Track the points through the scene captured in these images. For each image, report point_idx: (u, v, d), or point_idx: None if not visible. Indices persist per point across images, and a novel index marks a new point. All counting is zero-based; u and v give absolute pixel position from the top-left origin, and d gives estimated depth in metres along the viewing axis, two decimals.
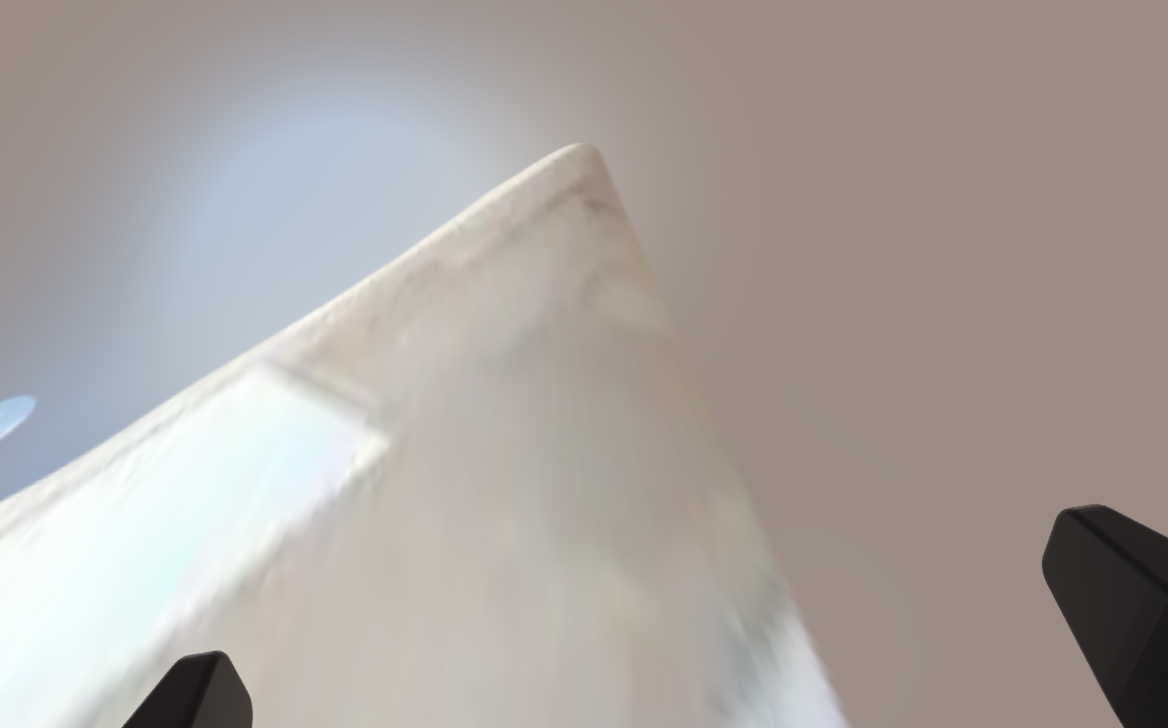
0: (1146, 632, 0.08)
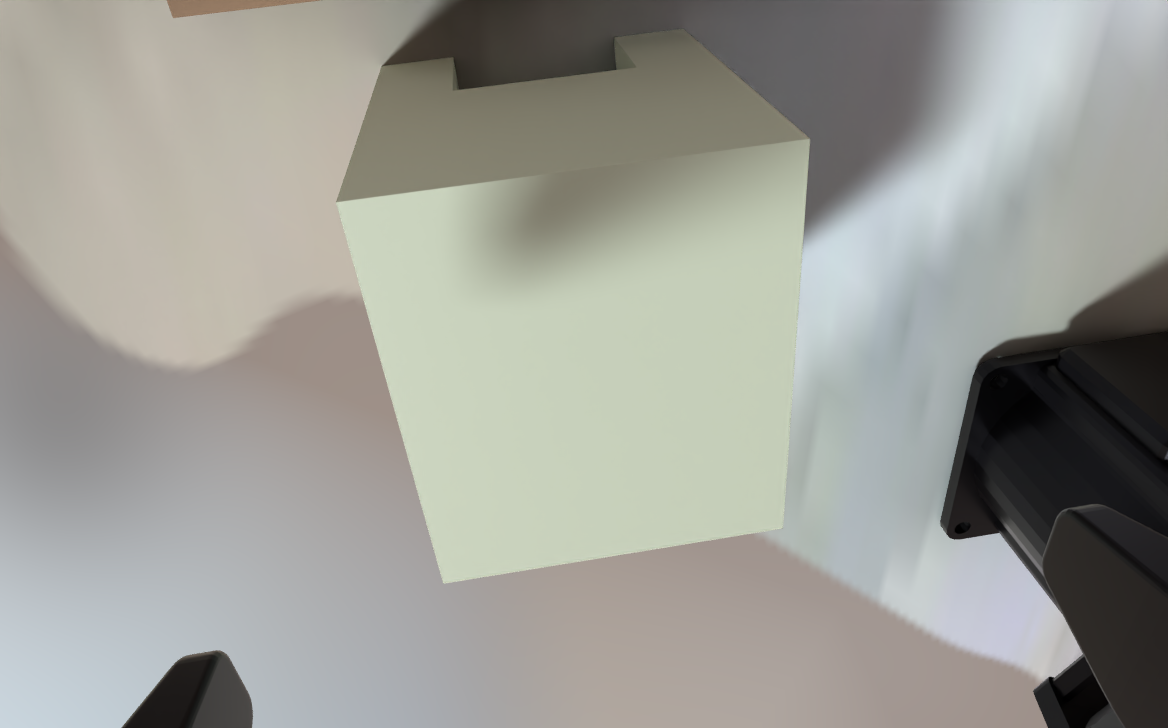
0: (1146, 632, 0.08)
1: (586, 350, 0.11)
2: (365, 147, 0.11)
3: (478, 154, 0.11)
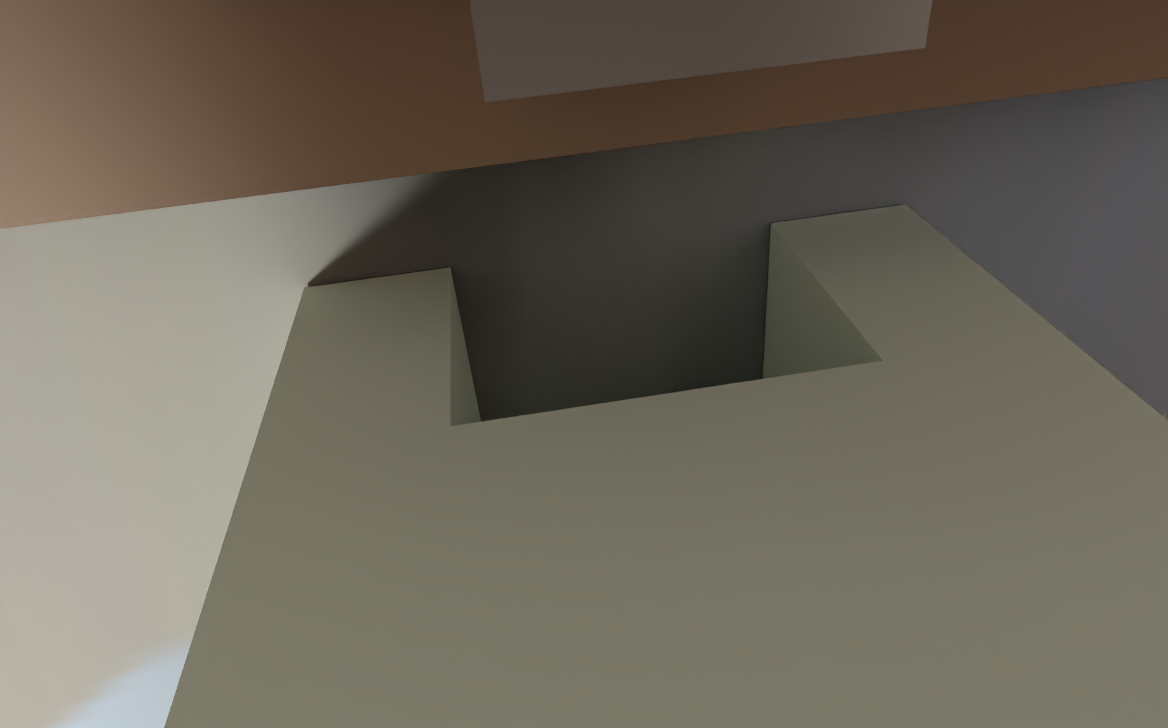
0: None
1: None
2: None
3: None
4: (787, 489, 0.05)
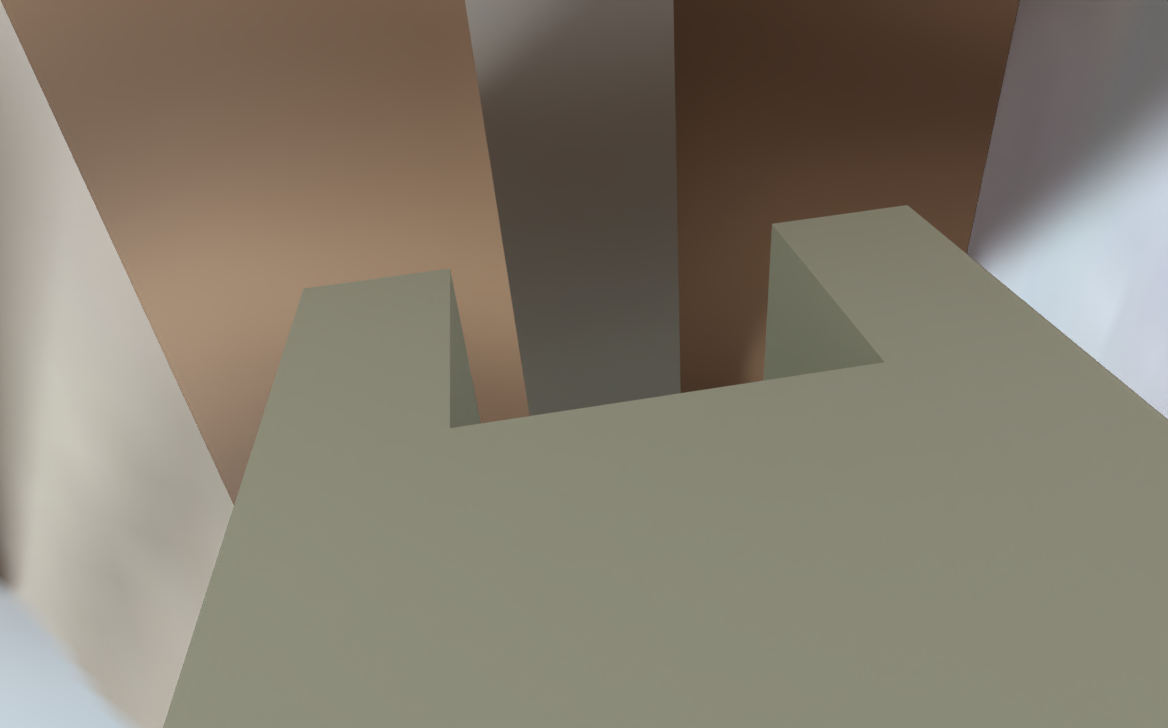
0: None
1: None
2: None
3: None
4: (788, 492, 0.05)
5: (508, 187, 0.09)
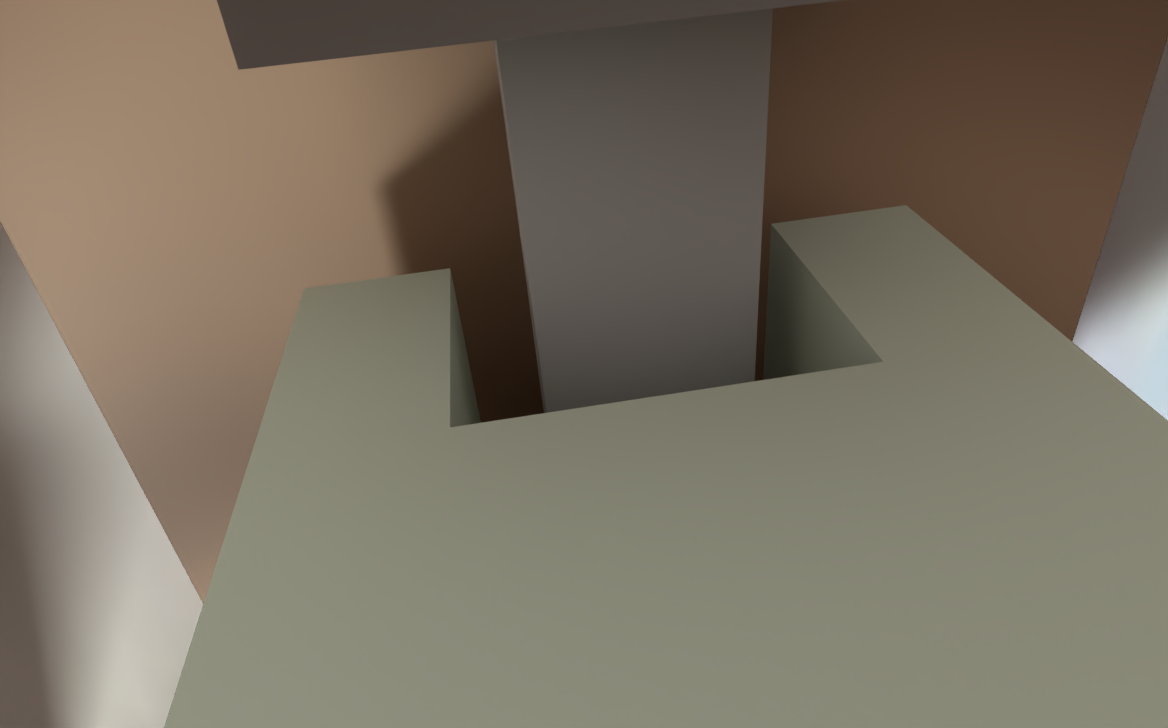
0: None
1: None
2: None
3: None
4: (787, 491, 0.05)
5: None
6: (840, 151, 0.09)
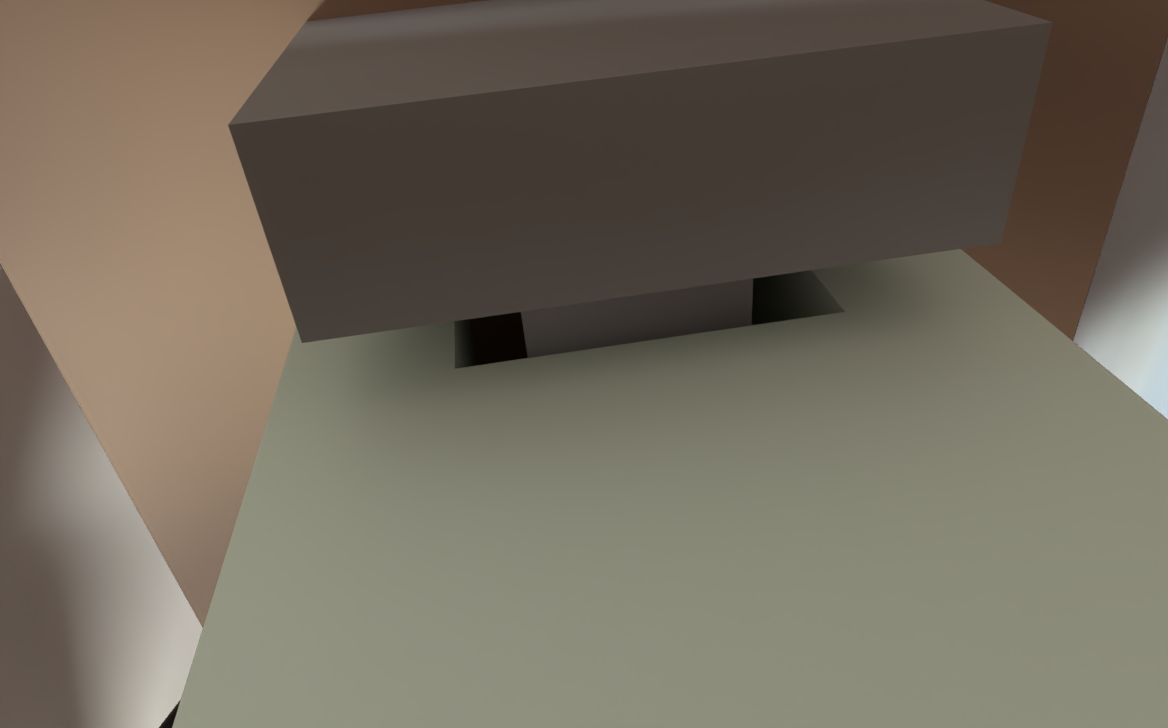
0: None
1: None
2: (221, 666, 0.04)
3: None
4: (753, 416, 0.06)
5: None
6: None
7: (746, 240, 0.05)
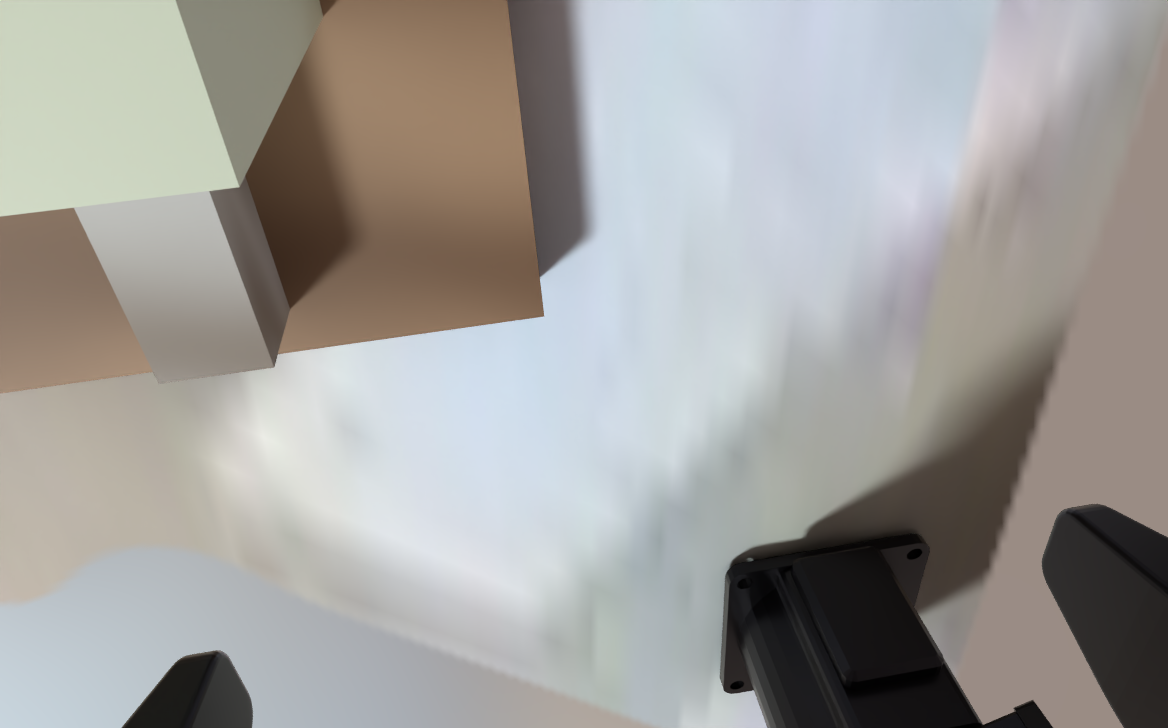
0: (1146, 632, 0.08)
1: None
2: None
3: None
4: None
5: None
6: None
7: None
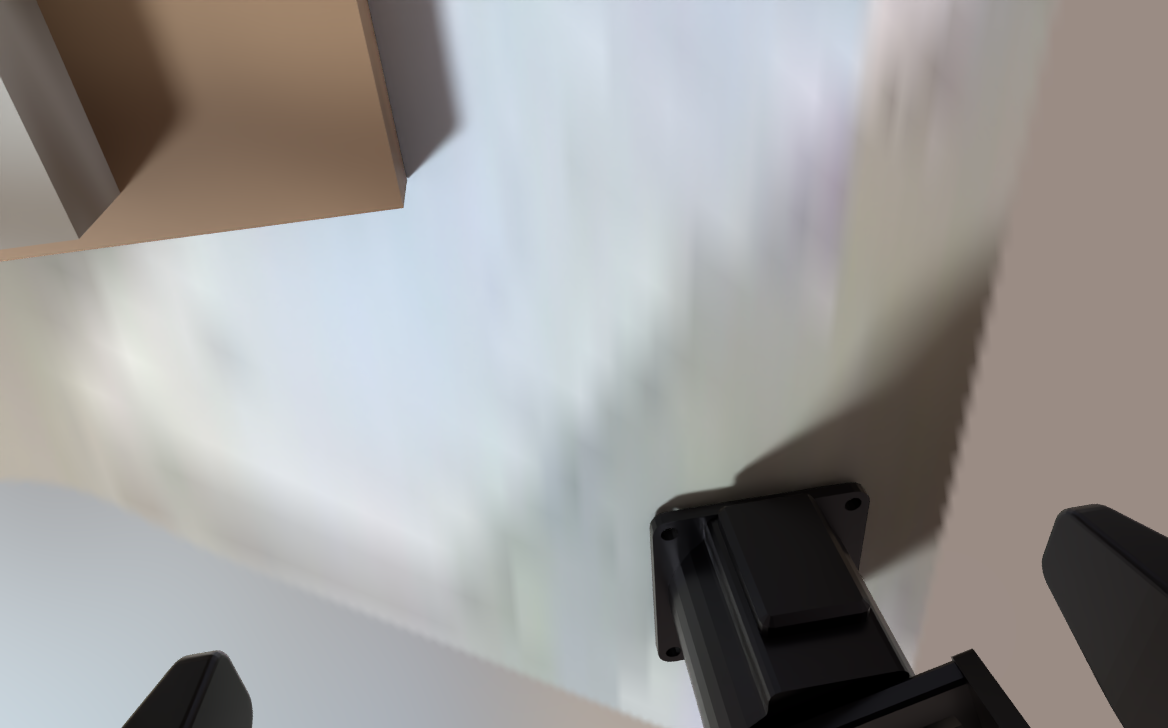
0: (1146, 632, 0.08)
1: None
2: None
3: None
4: None
5: None
6: None
7: None
